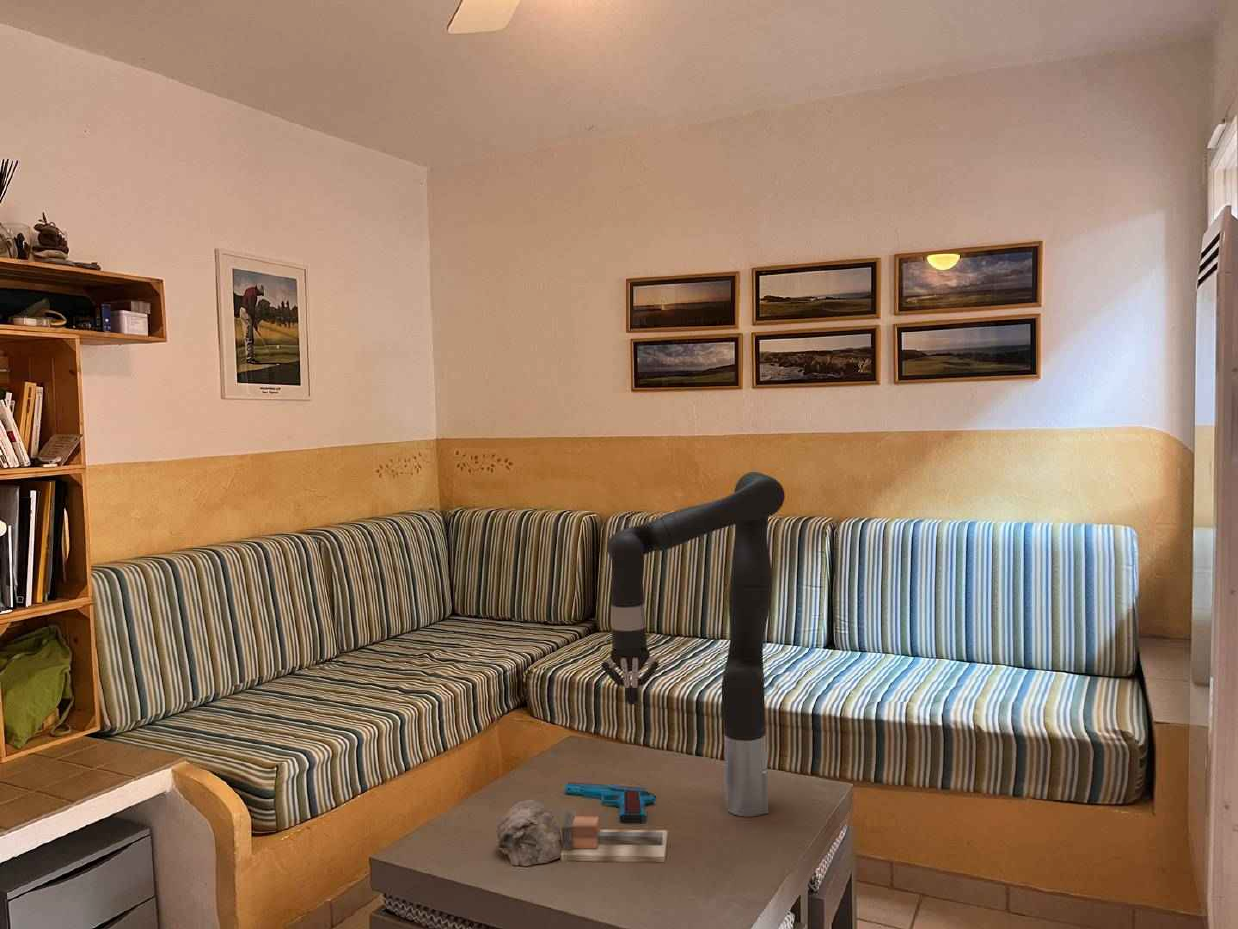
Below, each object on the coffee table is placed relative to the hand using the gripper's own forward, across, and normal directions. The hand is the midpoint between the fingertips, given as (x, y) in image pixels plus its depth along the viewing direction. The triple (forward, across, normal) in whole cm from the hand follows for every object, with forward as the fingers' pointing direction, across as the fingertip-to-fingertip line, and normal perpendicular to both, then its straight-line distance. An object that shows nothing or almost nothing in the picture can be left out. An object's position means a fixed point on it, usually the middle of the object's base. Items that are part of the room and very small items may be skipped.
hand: (632, 703), depth 203 cm
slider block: (+26, +9, +11) cm, 29 cm away
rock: (+27, +21, +13) cm, 37 cm away
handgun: (+28, +8, -9) cm, 30 cm away
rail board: (+27, +4, +11) cm, 29 cm away
